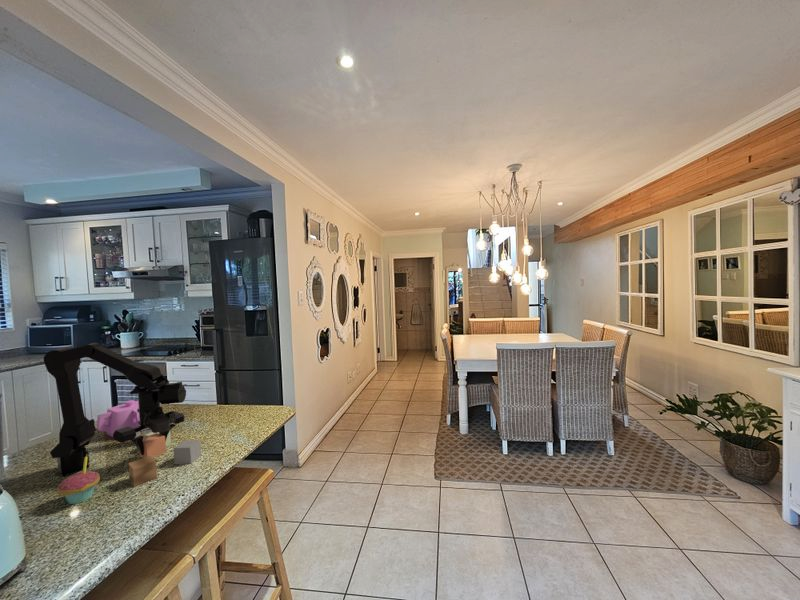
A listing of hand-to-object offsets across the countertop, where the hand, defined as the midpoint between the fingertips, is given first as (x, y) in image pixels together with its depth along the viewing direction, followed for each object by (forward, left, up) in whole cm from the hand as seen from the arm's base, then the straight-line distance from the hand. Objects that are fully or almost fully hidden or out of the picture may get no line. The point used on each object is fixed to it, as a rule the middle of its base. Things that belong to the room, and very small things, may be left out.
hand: (152, 450), depth 113 cm
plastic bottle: (+8, +18, -4) cm, 20 cm away
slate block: (+6, -10, -4) cm, 12 cm away
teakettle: (+9, +38, -4) cm, 39 cm away
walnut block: (-7, -10, -4) cm, 13 cm away
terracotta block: (0, 0, -1) cm, 1 cm away
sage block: (+6, +10, -4) cm, 12 cm away
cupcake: (-20, -5, -4) cm, 21 cm away
